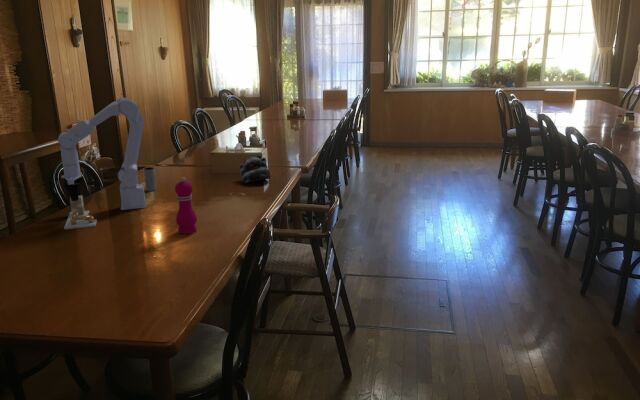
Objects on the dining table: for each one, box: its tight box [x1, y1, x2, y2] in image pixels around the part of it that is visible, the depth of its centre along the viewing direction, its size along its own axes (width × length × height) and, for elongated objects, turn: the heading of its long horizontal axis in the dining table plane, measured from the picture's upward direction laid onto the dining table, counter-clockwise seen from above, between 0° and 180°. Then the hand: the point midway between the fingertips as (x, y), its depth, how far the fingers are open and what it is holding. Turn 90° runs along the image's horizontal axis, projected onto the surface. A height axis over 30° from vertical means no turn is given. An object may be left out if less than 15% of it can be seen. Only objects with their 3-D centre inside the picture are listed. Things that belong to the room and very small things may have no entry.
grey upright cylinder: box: [143, 166, 157, 192], centre depth 234 cm, size 4×4×10 cm
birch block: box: [69, 194, 86, 216], centre depth 200 cm, size 4×4×7 cm
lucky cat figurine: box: [238, 155, 271, 184], centre depth 248 cm, size 15×12×14 cm
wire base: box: [63, 217, 98, 230], centre depth 192 cm, size 10×11×1 cm
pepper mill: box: [174, 176, 198, 235], centre depth 179 cm, size 7×7×20 cm
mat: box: [67, 210, 90, 219], centre depth 201 cm, size 7×7×1 cm
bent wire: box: [71, 212, 95, 225], centre depth 192 cm, size 8×8×3 cm
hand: (76, 197), depth 199 cm, fingers open, 7 cm apart
